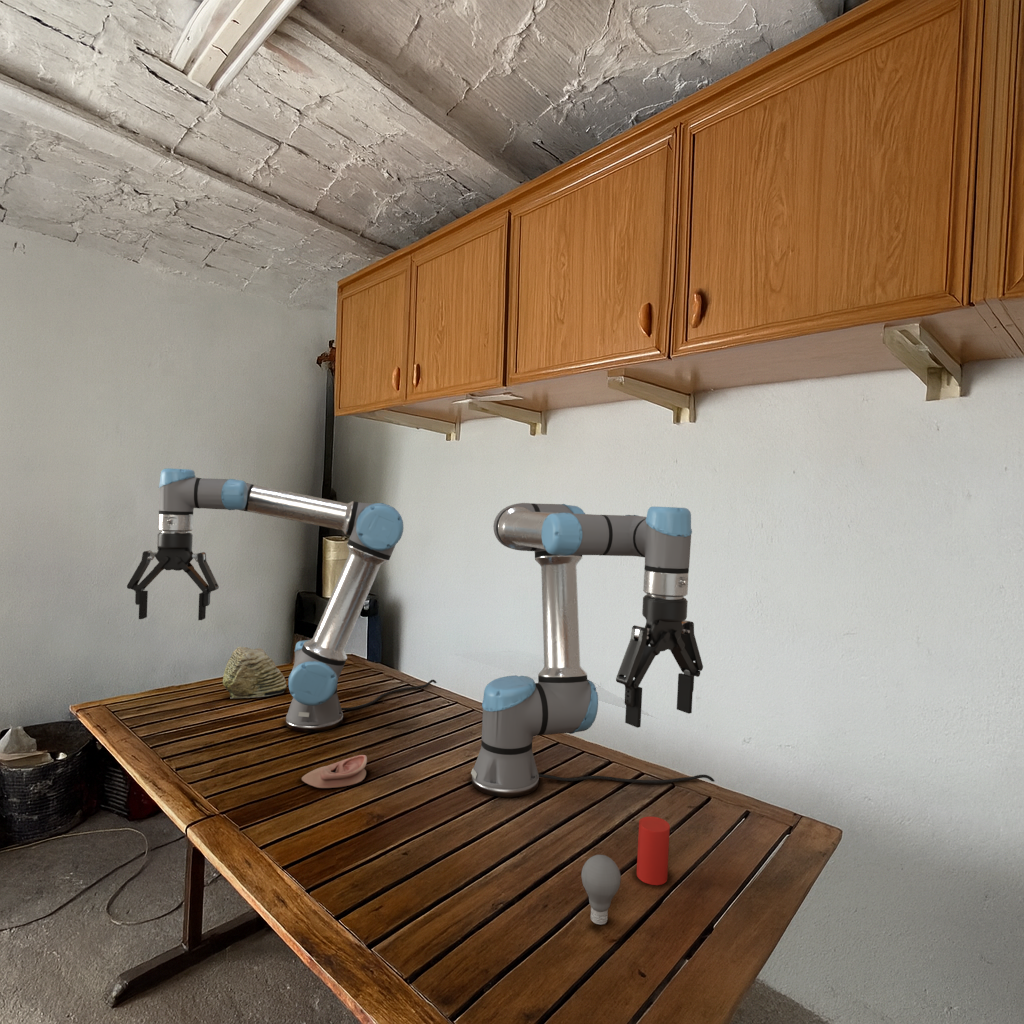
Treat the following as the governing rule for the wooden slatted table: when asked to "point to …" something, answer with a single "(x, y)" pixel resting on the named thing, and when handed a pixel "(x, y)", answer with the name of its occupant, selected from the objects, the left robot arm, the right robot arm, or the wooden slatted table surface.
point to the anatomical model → (338, 773)
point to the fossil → (252, 674)
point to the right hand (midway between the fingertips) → (659, 718)
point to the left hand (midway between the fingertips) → (172, 618)
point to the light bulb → (600, 885)
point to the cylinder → (653, 850)
